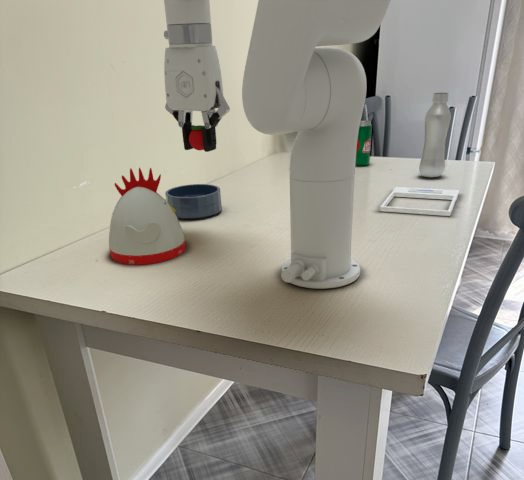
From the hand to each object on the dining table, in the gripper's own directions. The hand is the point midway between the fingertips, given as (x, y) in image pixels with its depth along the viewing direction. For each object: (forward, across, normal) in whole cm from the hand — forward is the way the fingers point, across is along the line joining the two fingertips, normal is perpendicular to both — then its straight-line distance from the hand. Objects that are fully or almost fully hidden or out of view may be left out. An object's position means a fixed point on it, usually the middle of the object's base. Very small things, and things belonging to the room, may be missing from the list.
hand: (200, 148), depth 97 cm
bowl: (+16, -10, +9) cm, 21 cm away
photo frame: (+15, +35, +34) cm, 51 cm away
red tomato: (0, 0, 0) cm, 0 cm away
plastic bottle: (+16, +31, +60) cm, 69 cm away
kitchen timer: (+16, -3, -15) cm, 22 cm away
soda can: (+16, +8, +69) cm, 71 cm away
